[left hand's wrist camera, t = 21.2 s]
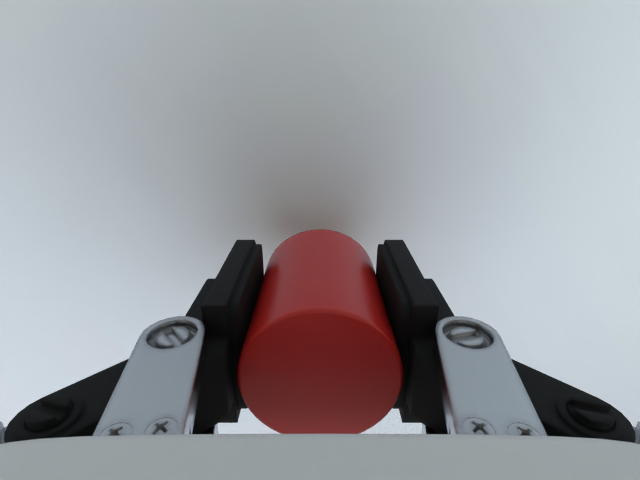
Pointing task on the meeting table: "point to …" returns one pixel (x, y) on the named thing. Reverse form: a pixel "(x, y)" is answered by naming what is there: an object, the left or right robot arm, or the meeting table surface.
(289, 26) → the meeting table surface
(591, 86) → the meeting table surface
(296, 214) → the meeting table surface
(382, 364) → the red cylinder
